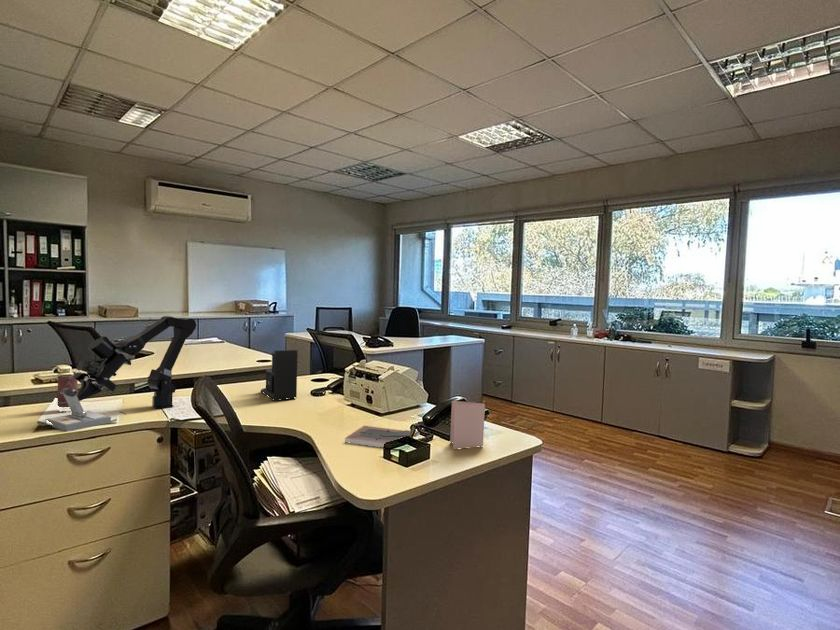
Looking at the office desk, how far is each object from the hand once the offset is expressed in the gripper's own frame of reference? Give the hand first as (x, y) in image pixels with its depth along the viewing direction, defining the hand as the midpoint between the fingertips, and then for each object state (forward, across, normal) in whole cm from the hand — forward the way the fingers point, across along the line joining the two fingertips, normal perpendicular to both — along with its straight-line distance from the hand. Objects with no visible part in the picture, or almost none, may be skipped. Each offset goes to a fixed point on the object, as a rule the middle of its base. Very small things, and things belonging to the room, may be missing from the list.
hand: (76, 401), depth 161 cm
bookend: (-48, +21, +60) cm, 80 cm away
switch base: (+5, 0, +7) cm, 8 cm away
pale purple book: (-28, +99, +40) cm, 111 cm away
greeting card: (-34, +127, +46) cm, 139 cm away
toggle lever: (+3, 0, +4) cm, 5 cm away
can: (+1, -22, +12) cm, 25 cm away
